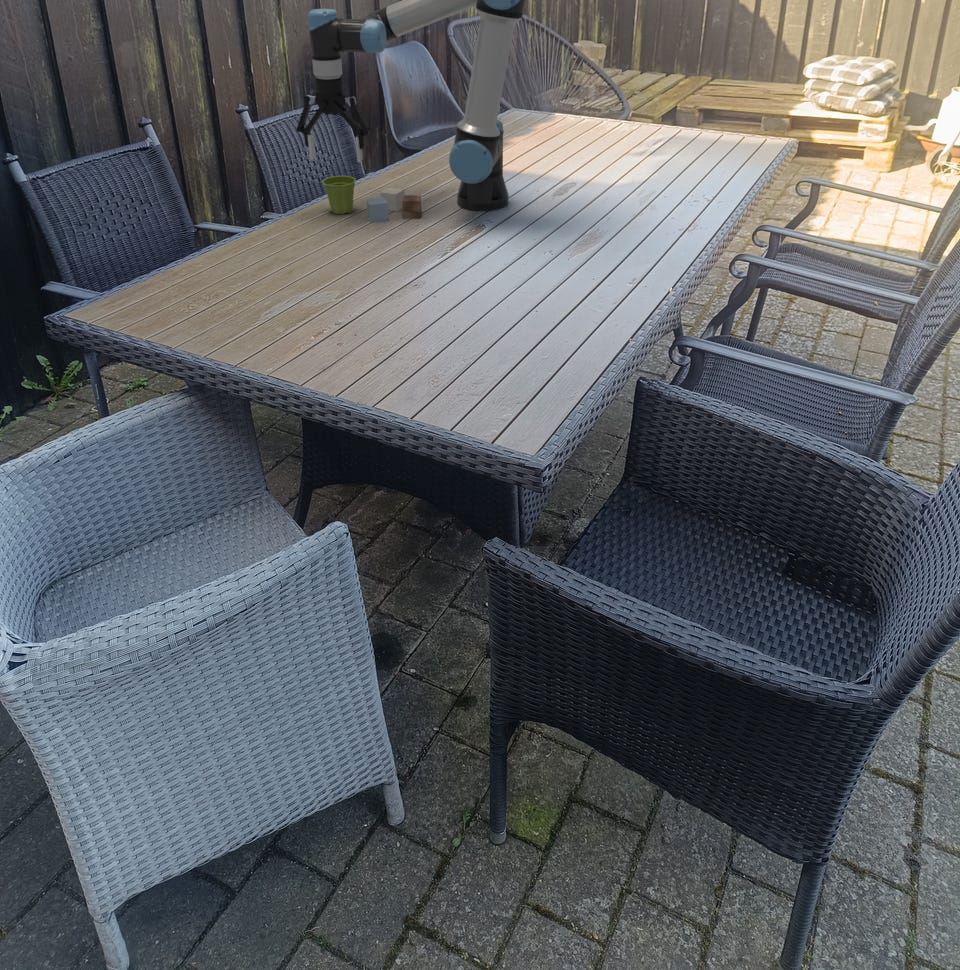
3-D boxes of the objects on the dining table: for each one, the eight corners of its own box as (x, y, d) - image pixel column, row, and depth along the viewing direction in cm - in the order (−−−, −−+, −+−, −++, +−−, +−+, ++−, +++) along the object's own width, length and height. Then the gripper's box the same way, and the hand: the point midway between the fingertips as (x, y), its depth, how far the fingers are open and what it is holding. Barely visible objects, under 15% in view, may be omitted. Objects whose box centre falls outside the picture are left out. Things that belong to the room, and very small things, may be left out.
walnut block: (421, 213, 241) (420, 195, 238) (420, 218, 237) (420, 200, 234) (404, 213, 241) (403, 195, 238) (403, 218, 237) (402, 201, 234)
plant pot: (352, 217, 238) (349, 186, 233) (321, 215, 240) (317, 184, 235) (362, 207, 246) (360, 176, 240) (332, 205, 247) (328, 174, 242)
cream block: (405, 206, 246) (404, 189, 243) (397, 211, 242) (395, 194, 239) (390, 204, 247) (389, 187, 245) (381, 209, 244) (380, 192, 241)
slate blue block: (385, 215, 240) (384, 197, 237) (388, 221, 236) (387, 203, 233) (367, 217, 238) (366, 199, 236) (370, 222, 235) (369, 204, 232)
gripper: (377, 75, 223) (383, 158, 236) (288, 72, 227) (298, 154, 239) (370, 80, 217) (376, 165, 230) (278, 77, 221) (289, 161, 233)
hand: (336, 159), depth 234 cm, fingers open, 13 cm apart
